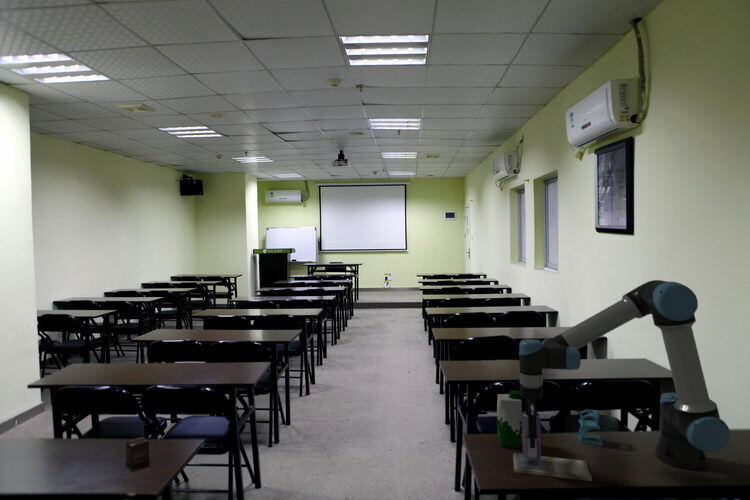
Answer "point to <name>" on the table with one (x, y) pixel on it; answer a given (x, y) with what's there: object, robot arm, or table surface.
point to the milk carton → (509, 419)
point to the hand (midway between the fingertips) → (531, 452)
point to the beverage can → (525, 440)
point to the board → (552, 467)
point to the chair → (589, 427)
